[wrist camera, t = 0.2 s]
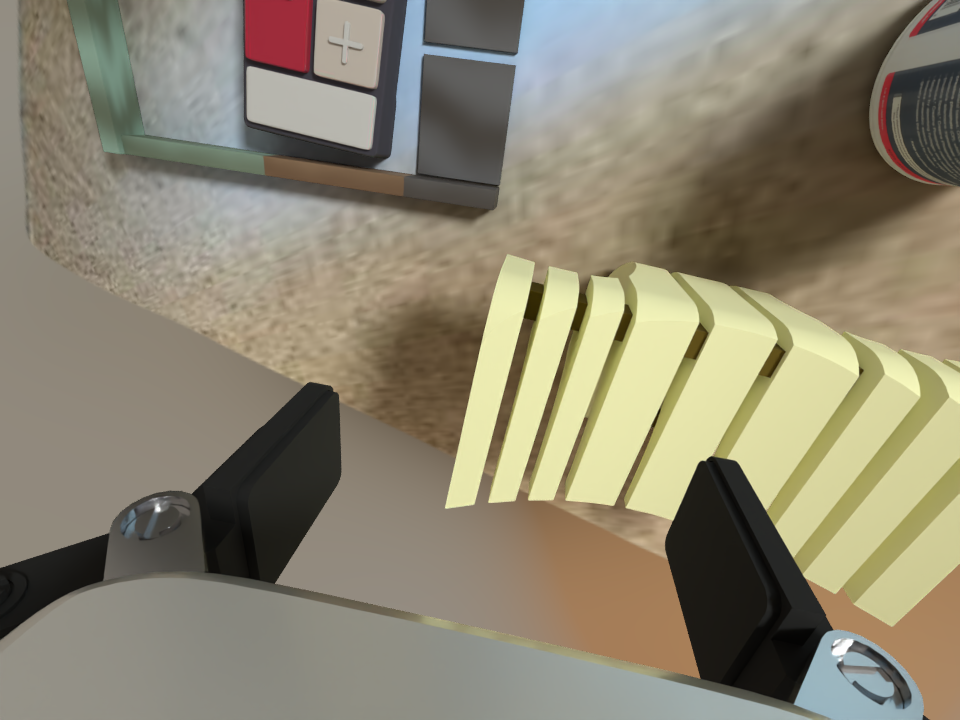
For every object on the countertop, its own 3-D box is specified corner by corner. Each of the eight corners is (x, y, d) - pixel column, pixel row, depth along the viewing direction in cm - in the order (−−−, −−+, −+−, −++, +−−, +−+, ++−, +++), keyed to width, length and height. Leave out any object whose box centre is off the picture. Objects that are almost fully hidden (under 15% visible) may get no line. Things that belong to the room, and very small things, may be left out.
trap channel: (62, -180, 31) (15, -210, 28) (542, -137, 28) (541, -165, 26) (133, 150, 40) (103, 151, 38) (496, 205, 38) (492, 210, 35)
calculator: (400, -100, 28) (373, 158, 34) (418, -67, 31) (391, 159, 38) (233, -138, 28) (237, 125, 34) (272, -100, 32) (268, 129, 38)
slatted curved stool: (867, 308, 37) (1098, 432, 21) (772, 454, 44) (892, 626, 29) (518, 227, 38) (493, 287, 23) (482, 381, 46) (444, 508, 30)
